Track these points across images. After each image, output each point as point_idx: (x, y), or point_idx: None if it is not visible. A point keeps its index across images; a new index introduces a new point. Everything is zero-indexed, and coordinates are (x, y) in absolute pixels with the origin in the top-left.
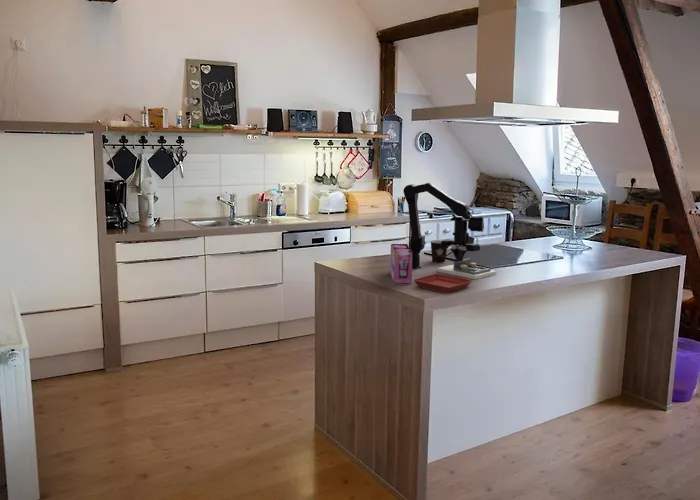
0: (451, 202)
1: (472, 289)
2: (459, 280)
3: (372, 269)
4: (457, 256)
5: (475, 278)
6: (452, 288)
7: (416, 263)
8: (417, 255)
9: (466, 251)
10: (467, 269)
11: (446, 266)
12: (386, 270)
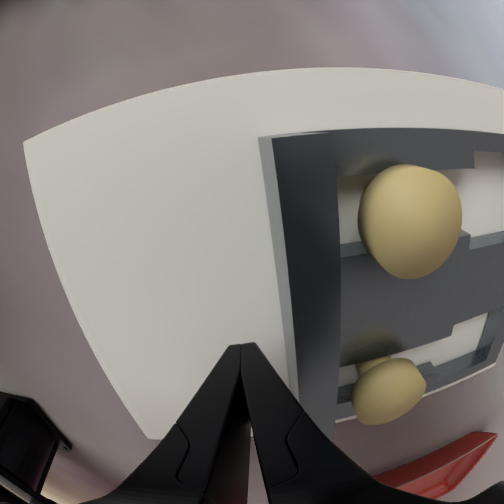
0: None
1: (494, 425)
2: (450, 455)
3: (64, 488)
4: (246, 477)
5: None
6: (455, 479)
7: (44, 449)
8: (23, 481)
9: (409, 496)
10: (409, 343)
11: (109, 358)
12: (83, 486)
